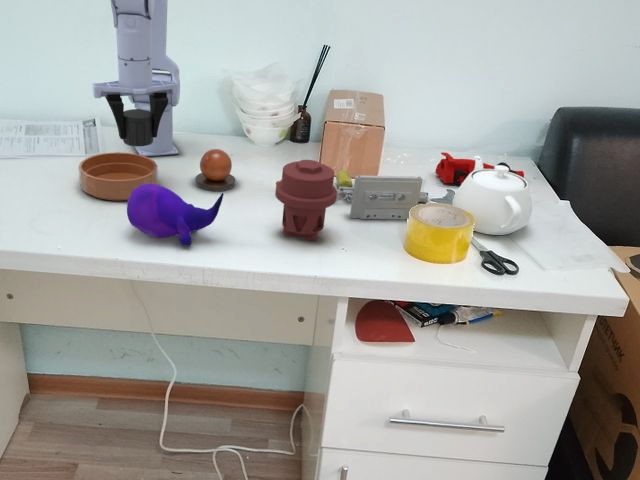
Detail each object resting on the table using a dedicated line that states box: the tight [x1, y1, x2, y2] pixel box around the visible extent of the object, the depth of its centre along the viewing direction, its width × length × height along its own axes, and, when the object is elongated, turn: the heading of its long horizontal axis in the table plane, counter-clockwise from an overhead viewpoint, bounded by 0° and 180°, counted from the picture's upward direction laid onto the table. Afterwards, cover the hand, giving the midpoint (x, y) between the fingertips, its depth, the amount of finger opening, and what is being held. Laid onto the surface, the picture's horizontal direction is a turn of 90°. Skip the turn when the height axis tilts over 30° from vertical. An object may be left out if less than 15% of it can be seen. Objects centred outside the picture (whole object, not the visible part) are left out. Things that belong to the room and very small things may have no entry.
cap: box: [122, 108, 153, 147], centre depth 128 cm, size 5×5×5 cm
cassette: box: [349, 175, 424, 220], centre depth 127 cm, size 12×2×8 cm, turn 96°
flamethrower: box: [275, 169, 429, 203], centre depth 137 cm, size 29×3×10 cm
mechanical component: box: [275, 159, 338, 242], centre depth 118 cm, size 12×10×10 cm
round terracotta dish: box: [78, 151, 159, 202], centre depth 132 cm, size 14×14×4 cm
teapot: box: [451, 155, 533, 236], centre depth 127 cm, size 22×14×11 cm, turn 5°
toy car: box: [434, 151, 525, 187], centre depth 146 cm, size 6×18×5 cm, turn 99°
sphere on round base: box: [194, 148, 236, 192], centre depth 136 cm, size 8×8×7 cm
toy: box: [126, 184, 225, 247], centre depth 116 cm, size 9×10×15 cm
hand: (137, 136), depth 129 cm, fingers closed on cap, 5 cm apart
